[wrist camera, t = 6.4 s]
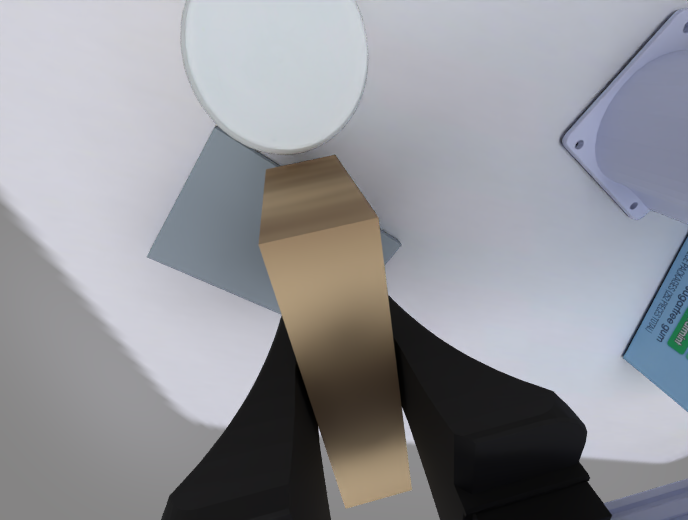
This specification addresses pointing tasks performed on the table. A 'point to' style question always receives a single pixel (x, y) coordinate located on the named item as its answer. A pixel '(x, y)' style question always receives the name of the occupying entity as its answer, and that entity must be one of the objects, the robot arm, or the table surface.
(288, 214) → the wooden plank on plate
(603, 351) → the table surface
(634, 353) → the gum box
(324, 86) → the supplement bottle
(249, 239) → the grey rectangular plate
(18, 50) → the table surface
